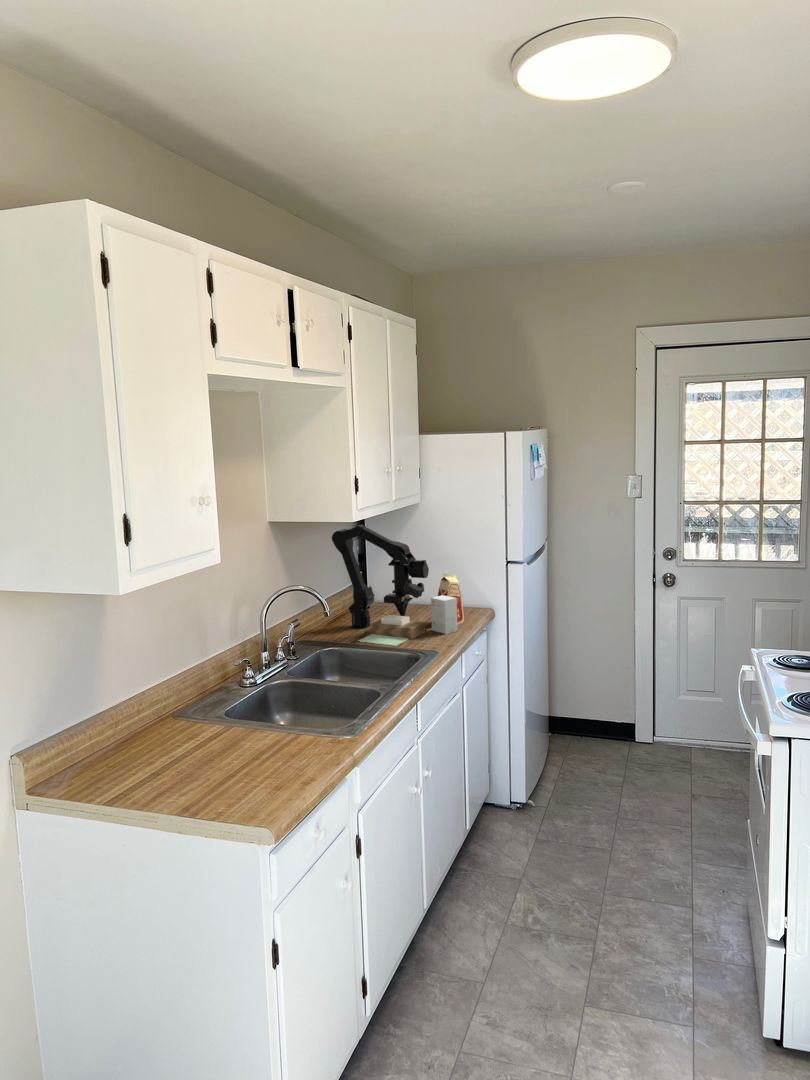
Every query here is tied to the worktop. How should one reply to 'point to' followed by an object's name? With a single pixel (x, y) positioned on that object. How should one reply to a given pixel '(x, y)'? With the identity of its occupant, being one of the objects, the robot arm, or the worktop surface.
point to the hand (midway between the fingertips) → (402, 616)
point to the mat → (384, 640)
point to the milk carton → (452, 593)
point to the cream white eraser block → (395, 620)
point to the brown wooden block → (398, 629)
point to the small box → (444, 614)
